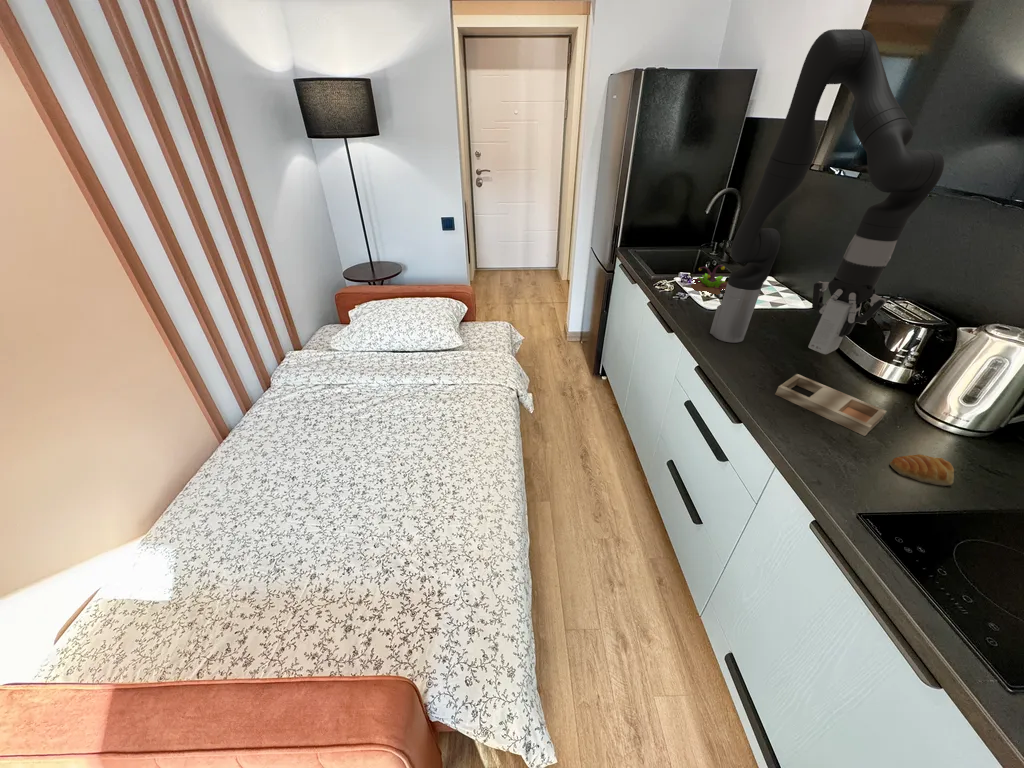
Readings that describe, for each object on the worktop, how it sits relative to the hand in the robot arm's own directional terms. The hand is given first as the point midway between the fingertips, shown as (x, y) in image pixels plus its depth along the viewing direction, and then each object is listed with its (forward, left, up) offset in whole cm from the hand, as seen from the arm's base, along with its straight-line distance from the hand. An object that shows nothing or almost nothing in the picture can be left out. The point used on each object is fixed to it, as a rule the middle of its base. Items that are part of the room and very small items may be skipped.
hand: (830, 331), depth 97 cm
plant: (-54, +45, -19) cm, 73 cm away
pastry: (+27, -9, -19) cm, 34 cm away
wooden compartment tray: (+6, 0, -18) cm, 19 cm away
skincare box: (0, 0, -5) cm, 5 cm away
